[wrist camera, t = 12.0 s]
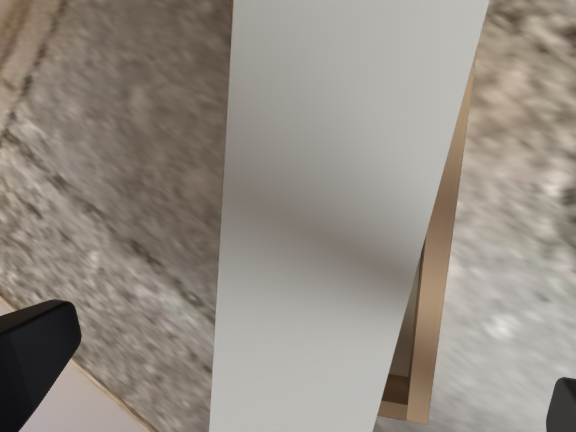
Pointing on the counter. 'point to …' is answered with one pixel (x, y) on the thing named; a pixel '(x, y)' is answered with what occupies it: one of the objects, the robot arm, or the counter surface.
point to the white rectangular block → (328, 200)
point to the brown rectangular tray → (426, 292)
